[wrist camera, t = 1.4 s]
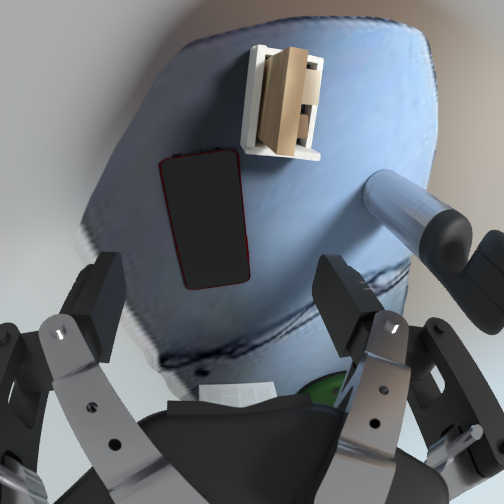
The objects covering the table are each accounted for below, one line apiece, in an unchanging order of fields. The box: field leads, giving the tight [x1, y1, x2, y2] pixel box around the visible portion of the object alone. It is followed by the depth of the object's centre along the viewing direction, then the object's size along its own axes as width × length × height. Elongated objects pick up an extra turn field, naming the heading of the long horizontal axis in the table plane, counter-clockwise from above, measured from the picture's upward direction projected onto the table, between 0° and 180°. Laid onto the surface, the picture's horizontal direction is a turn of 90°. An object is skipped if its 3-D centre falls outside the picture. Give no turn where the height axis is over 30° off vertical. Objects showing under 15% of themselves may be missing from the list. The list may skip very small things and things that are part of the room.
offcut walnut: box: [297, 113, 308, 138], centre depth 38 cm, size 3×3×4 cm
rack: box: [240, 45, 324, 161], centre depth 35 cm, size 10×15×7 cm, turn 174°
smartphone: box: [159, 147, 250, 290], centre depth 47 cm, size 12×2×25 cm
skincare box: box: [199, 382, 277, 407], centre depth 67 cm, size 21×6×16 cm, turn 82°
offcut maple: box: [302, 69, 320, 106], centre depth 33 cm, size 3×5×3 cm
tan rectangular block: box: [256, 47, 308, 156], centre depth 31 cm, size 2×11×16 cm, turn 174°
